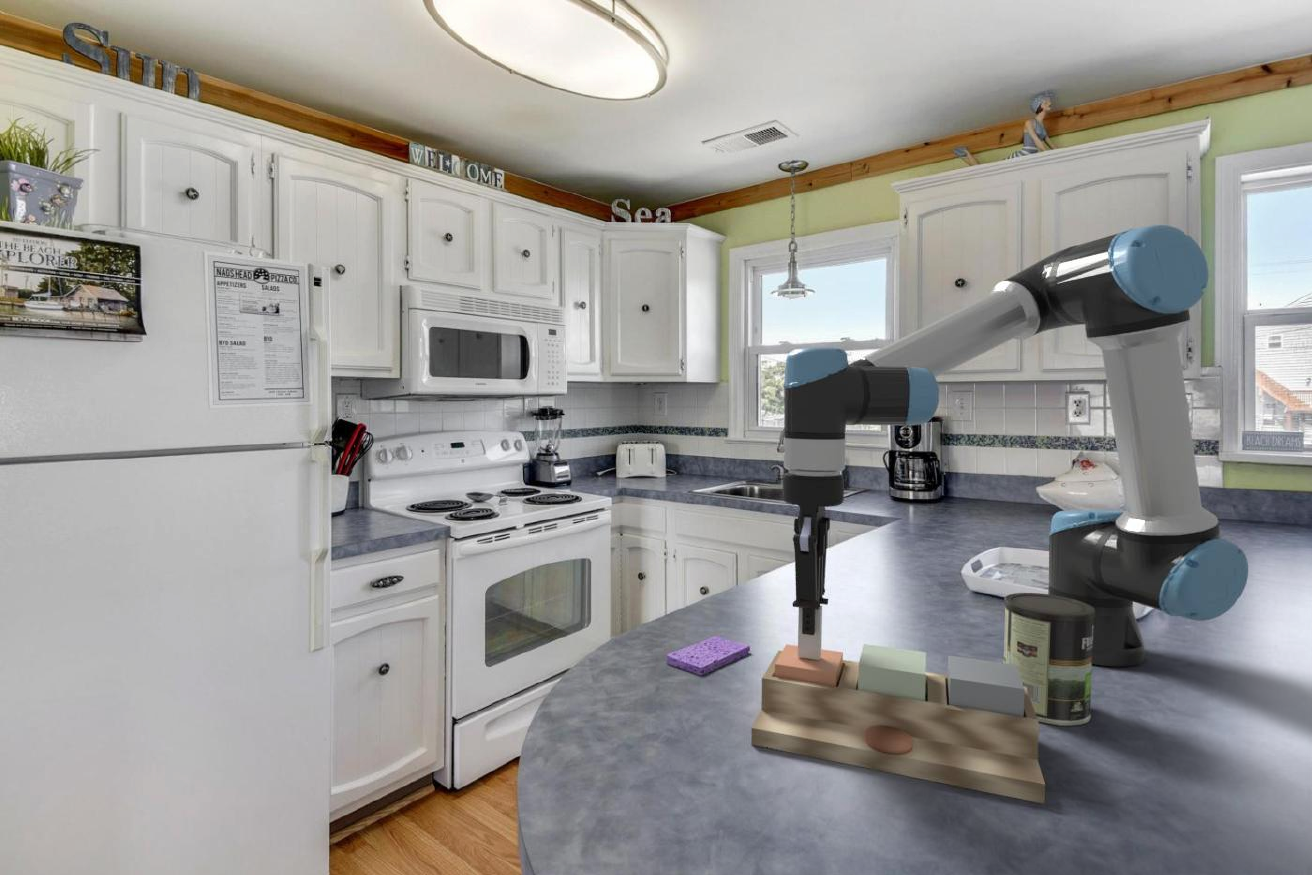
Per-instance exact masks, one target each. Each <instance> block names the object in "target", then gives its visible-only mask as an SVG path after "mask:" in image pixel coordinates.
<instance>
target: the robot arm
mask: <svg viewBox="0 0 1312 875" xmlns="http://www.w3.org/2000/svg"><path fill="white" fill-rule="evenodd" d="M1208 267H1209V266H1208V262H1207V259H1206V257H1205V254H1204V251H1203V250H1202V248H1201V247H1200V245H1199V243H1197V241H1196V240H1195V239H1194V238H1193V237H1192V236H1190V235H1187V234H1185V232H1184V231H1183V230H1182V229H1180V228H1177V227H1176V226H1171V225H1165V224H1156V225H1155V224H1154V225H1148V226H1144V227H1143V226H1142V227H1138V228H1137V227H1136V228H1129V229H1128V230H1125V231H1122V232H1121V231H1120V232H1118V233H1116V234H1115V233H1114V234H1113V235H1109V236H1105V237H1102V238H1098V239H1095V240H1092V241H1089V242H1088V241H1087V242H1085V243H1082V244H1081V243H1080V244H1076V245H1073V246H1069V247H1066V248H1063V249H1061V250H1059V251H1056V252H1054V253H1053V254H1050V255H1048V256H1047V257H1045V258H1043V259H1041V260H1039V261H1038V262H1036V263H1033V264H1032V265H1030V266H1028V267H1026V268H1025V269H1023V270H1021V271H1020V272H1018V273H1016V274H1014V275H1012V276H1010V277H1008V278H1006V279H1005V280H1003V281H1000V282H999V283H997V284H996V285H994V286H993V288H992V289H991V291H990V293H989V295H987V296H985V297H983V298H981V299H979V300H976V301H975V302H973V303H971V304H969V305H966V306H965V307H963V308H961V309H958V310H957V311H954V312H952V313H951V314H948V315H946V316H944V317H942V318H940V319H938V320H936V321H934V322H932V323H930V324H928V325H926V326H923V327H922V328H920V329H917V330H916V331H914V332H912V333H909V334H908V335H906V336H903V337H902V338H900V339H897V340H896V341H893V342H891V343H888V345H885V346H884V347H881V348H880V349H877V350H874V351H873V352H872V353H869V354H867V355H865V356H863V357H861V358H860V359H858V360H855V361H853V362H851V363H849V360H848V354H847V352H846V350H845V349H842V348H834V347H806V348H796V349H793V350H792V351H790V352H789V353H788V355H787V356H786V361H785V367H784V368H785V370H784V382H783V390H784V395H783V396H784V415H783V416H784V432H783V437H784V439H783V440H784V441H783V443H784V444H780V446H779V447H778V449H779V451H780V453H784V454H783V468H784V469H786V470H788V472H785V473H784V475H782V500H783V502H785V504H788V505H792V506H793V505H794V506H795V505H797V506H798V507H799V511H798V512H799V514H798V516H797V518H794V522H793V531H794V535H793V537H792V542H793V548H794V568H795V569H794V572H795V573H794V574H795V600H794V601H793V602H792V607H793V608H798V621H797V622H798V623H797V624H798V625H797V626H798V630H797V632H798V633H797V634H798V635H797V646H798V657H802V658H809V659H816V660H820V657H821V649H822V637H823V636H822V634H823V632H822V630H823V629H822V627H823V605H827V606H828V603H829V598H824V597H823V596H824V595H825V593H826V589H825V585H826V566H827V565H826V563H827V549H828V546H829V545H828V541H829V534H828V533H829V530H830V529H831V518H830V517H826V508H827V507H828V508H829V507H831V508H832V507H838V506H840V505H842V504H843V503H844V498H845V497H844V496H845V476H843V474H841V472H843V471H844V470H845V469H846V446H847V445H846V444H847V442H846V428H847V426H855V425H859V426H862V425H863V426H866V425H867V426H902V427H908V426H920V425H925V424H926V423H928V422H930V420H931V419H932V418H933V417H934V416H935V414H936V413H937V410H938V407H939V402H940V399H939V398H940V396H939V395H940V386H939V383H938V380H937V379H936V378H937V377H939V376H941V375H944V374H945V373H947V372H949V371H952V370H954V369H955V368H957V367H959V366H961V365H963V364H965V363H967V362H969V361H971V360H973V359H975V358H977V357H979V356H981V355H983V354H985V353H987V352H988V351H989V352H990V351H991V350H992V349H995V348H997V347H999V346H1000V345H1003V344H1005V343H1007V342H1008V341H1011V340H1013V339H1014V340H1018V341H1021V340H1027V339H1029V338H1031V337H1033V336H1035V335H1038V334H1040V333H1043V332H1046V331H1049V330H1054V329H1059V328H1064V327H1065V328H1066V327H1072V326H1079V325H1084V327H1085V328H1084V329H1085V335H1086V338H1087V341H1089V342H1091V343H1092V344H1094V345H1096V346H1097V347H1099V348H1100V349H1101V353H1102V358H1103V359H1102V360H1103V366H1104V372H1105V379H1106V386H1107V392H1108V398H1109V405H1110V411H1111V418H1112V425H1113V432H1114V437H1115V445H1116V446H1115V447H1116V452H1117V457H1118V465H1119V469H1120V470H1119V471H1120V476H1121V477H1120V478H1121V484H1122V491H1123V497H1124V504H1125V510H1121V509H1119V510H1117V509H1113V510H1112V509H1069V510H1059V511H1057V512H1056V513H1055V514H1054V515H1053V516H1052V518H1051V524H1050V531H1049V534H1048V536H1049V544H1048V545H1049V546H1048V547H1049V548H1048V549H1049V550H1048V552H1049V553H1048V592H1047V594H1049V595H1056V596H1061V597H1066V598H1070V599H1074V600H1078V601H1081V602H1084V603H1086V604H1088V605H1090V606H1092V607H1093V608H1094V609H1095V617H1094V625H1093V653H1092V665H1096V666H1097V665H1098V666H1103V667H1104V666H1105V667H1132V666H1136V665H1140V664H1142V663H1144V661H1145V651H1146V650H1145V648H1146V647H1145V642H1144V640H1143V637H1142V634H1141V631H1140V630H1141V629H1140V627H1139V625H1138V621H1137V619H1136V615H1135V613H1134V608H1133V607H1134V603H1136V604H1139V605H1142V606H1146V607H1149V608H1151V609H1154V610H1158V611H1161V612H1163V613H1164V614H1166V615H1169V616H1171V617H1181V618H1184V619H1188V620H1192V621H1195V622H1196V621H1198V622H1199V621H1200V622H1202V621H1205V622H1206V621H1209V620H1210V621H1211V620H1214V619H1216V618H1219V617H1220V616H1222V615H1223V614H1225V613H1227V612H1229V610H1230V609H1232V608H1233V606H1235V604H1236V603H1237V601H1238V599H1239V598H1240V597H1241V596H1242V595H1243V592H1244V591H1245V588H1246V585H1247V581H1248V578H1249V577H1248V576H1249V562H1248V558H1247V556H1246V554H1245V552H1244V550H1242V549H1241V548H1239V546H1238V545H1237V544H1236V543H1234V542H1232V541H1230V540H1227V539H1226V538H1222V537H1221V532H1220V527H1219V526H1220V525H1219V519H1218V517H1217V516H1216V515H1215V514H1214V513H1212V512H1210V511H1209V510H1208V509H1206V508H1204V507H1203V506H1202V500H1201V498H1202V497H1201V492H1200V485H1199V479H1198V472H1197V462H1196V457H1195V456H1196V455H1195V449H1194V444H1193V443H1194V442H1193V435H1192V430H1191V429H1192V428H1191V421H1190V420H1191V419H1190V416H1189V408H1188V400H1187V393H1186V387H1185V386H1186V385H1185V379H1184V371H1183V365H1182V364H1183V363H1182V358H1181V350H1180V344H1179V343H1180V342H1179V336H1180V334H1181V332H1183V330H1184V329H1185V328H1186V327H1187V326H1188V325H1189V323H1191V316H1190V310H1189V309H1191V308H1192V307H1194V306H1195V305H1196V304H1197V303H1198V302H1199V301H1201V299H1202V298H1203V296H1204V294H1205V292H1204V289H1206V288H1207V285H1208V282H1209V268H1208Z"/></svg>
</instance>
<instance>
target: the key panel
mask: <svg viewBox="0 0 1312 875" xmlns="http://www.w3.org/2000/svg"><path fill="white" fill-rule="evenodd" d="M782 651H783V650H778V651H777V652H776V654H775V656H774V657H773V659H772V661H771V662H770V664H769V666H768V667H767V669H766V671H765V672H764V674H763V676H762V677H761V703H760V704H761V710H760V711H759V713H758V715H757V717H756V719H755V721H754V723H753V724H752V726H751V743H750V744H751V745H752V746H758V747H762V746H763V747H762V748H766V747H768V749H771V748H772V750H776V749H777V751H781V750H782V751H783V752H786V753H787V752H788V753H792V754H797V755H800V756H801V755H802V756H806V757H811V758H815V759H816V758H817V759H822V760H825V761H831V762H835V763H836V762H837V763H840V764H841V763H842V764H847V765H852V766H856V767H862V768H866V769H870V770H875V771H881V772H885V773H891V774H896V775H900V776H903V777H904V776H905V777H910V778H915V779H920V780H924V781H929V782H934V783H935V782H936V783H939V784H940V783H941V784H945V785H950V786H954V787H959V788H964V789H969V790H975V791H978V792H979V791H980V792H984V793H989V794H994V795H998V796H1004V797H1008V798H1014V799H1018V800H1023V801H1029V802H1033V803H1038V804H1043V805H1045V802H1046V801H1045V800H1046V799H1045V798H1046V782H1045V779H1044V776H1043V773H1042V769H1041V767H1040V763H1039V761H1038V760H1039V759H1038V757H1039V736H1040V734H1039V732H1040V730H1039V729H1040V722H1038V719H1037V716H1036V714H1035V711H1034V708H1033V705H1032V702H1031V699H1030V697H1029V694H1028V691H1027V688H1026V687H1024V689H1025V691H1024V717H1019V716H1013V715H1007V714H1001V713H995V712H989V711H982V710H976V709H970V708H964V707H958V706H952V705H948V699H947V687H948V674H947V675H946V674H940V673H933V672H928V671H926V683H925V701H921V700H915V699H908V698H902V697H896V696H890V695H884V694H878V693H871V692H865V691H859V690H858V670H859V661H854V660H853V661H852V660H844V659H843V672H842V675H841V679H840V682H839V685H838V687H834V686H828V685H822V684H816V683H810V682H804V681H797V680H791V679H785V678H779V677H775V663H776V661H777V659H778V658H779V656H780V654H781V653H782Z"/></svg>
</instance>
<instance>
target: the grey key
mask: <svg viewBox="0 0 1312 875" xmlns="http://www.w3.org/2000/svg"><path fill="white" fill-rule="evenodd" d="M947 660H948V661H947V675H948V687H947V699H948V705H952V706H958V707H964V708H970V709H976V710H982V711H989V712H995V713H1001V714H1007V715H1013V716H1019V717H1024V691H1025V689H1024V686H1023V683H1022V680H1021V677H1020V674H1019V672H1018V669H1017V666H1016V665H1014V664H1007V663H1004V662H1001V661H1000V662H998V661H992V660H991V661H990V660H984V659H976V658H969V657H962V656H955V655H949V654H948V657H947Z"/></svg>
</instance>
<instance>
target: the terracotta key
mask: <svg viewBox="0 0 1312 875" xmlns="http://www.w3.org/2000/svg"><path fill="white" fill-rule="evenodd" d="M781 651H782V653H781V654H780V656H779V658H778V659H777V661H776V663H775V677H779V678H785V679H791V680H797V681H804V682H810V683H816V684H822V685H828V686H834V687H838V685H839V682H840V679H841V675H842V672H843V660H844V652H842V651H837V650H829V649H822V648H821V657H820V660H816V659H809V658H802V657H798V645H793V644H785V646H784V648H783V649H782V650H781Z"/></svg>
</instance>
